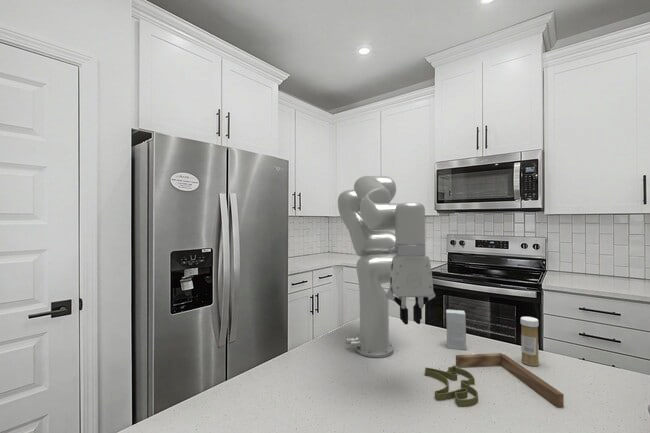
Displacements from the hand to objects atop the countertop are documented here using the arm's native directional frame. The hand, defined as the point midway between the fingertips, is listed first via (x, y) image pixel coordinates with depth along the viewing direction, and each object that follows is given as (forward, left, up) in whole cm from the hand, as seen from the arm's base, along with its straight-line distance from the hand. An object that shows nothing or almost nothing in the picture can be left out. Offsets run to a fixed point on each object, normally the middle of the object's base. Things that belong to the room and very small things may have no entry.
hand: (410, 321), depth 84 cm
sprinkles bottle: (+40, +11, -17) cm, 45 cm away
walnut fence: (+24, 0, -17) cm, 30 cm away
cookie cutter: (+11, 0, -18) cm, 21 cm away
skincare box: (+24, +25, -17) cm, 39 cm away
